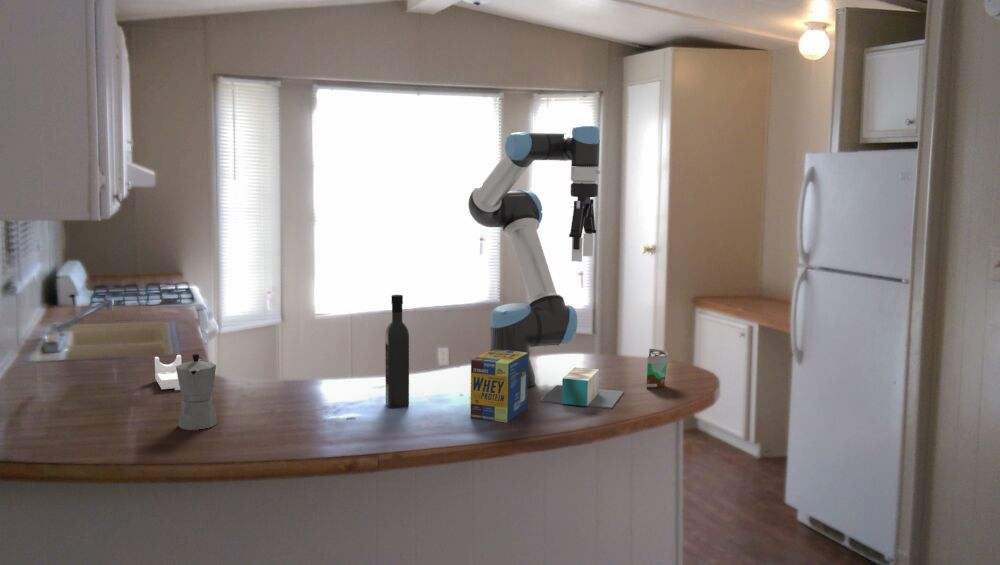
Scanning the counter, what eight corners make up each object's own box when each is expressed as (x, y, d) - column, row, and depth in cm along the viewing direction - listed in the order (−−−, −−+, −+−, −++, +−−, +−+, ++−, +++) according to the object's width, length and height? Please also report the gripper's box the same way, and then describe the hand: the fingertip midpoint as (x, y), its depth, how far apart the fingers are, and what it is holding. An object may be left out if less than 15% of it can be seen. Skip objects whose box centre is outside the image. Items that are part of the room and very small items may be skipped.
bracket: (155, 382, 271) (154, 357, 270) (180, 379, 274) (179, 354, 273) (161, 392, 259) (160, 366, 258) (188, 389, 263) (187, 363, 261)
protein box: (469, 418, 238) (470, 359, 236) (492, 403, 252) (492, 348, 250) (507, 423, 234) (508, 363, 232) (528, 408, 248) (529, 351, 246)
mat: (540, 401, 254) (540, 400, 254) (556, 386, 271) (556, 385, 271) (611, 408, 248) (611, 407, 248) (623, 392, 265) (623, 391, 265)
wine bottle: (388, 408, 245) (388, 297, 241) (384, 403, 250) (384, 294, 246) (409, 407, 247) (410, 296, 243) (405, 401, 252) (405, 293, 248)
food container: (667, 391, 267) (669, 358, 266) (646, 390, 268) (647, 356, 267) (668, 381, 279) (670, 349, 278) (648, 380, 280) (649, 348, 279)
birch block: (562, 378, 250) (574, 367, 264) (561, 403, 251) (574, 391, 264) (587, 380, 248) (598, 369, 261) (587, 406, 249) (598, 393, 262)
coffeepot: (215, 431, 223) (213, 359, 221) (174, 434, 221) (172, 360, 218) (220, 414, 238) (218, 345, 235) (181, 416, 236) (179, 347, 233)
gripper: (587, 184, 242) (585, 264, 245) (606, 181, 266) (604, 254, 269) (560, 183, 245) (558, 262, 248) (581, 181, 268) (579, 253, 271)
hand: (582, 258), depth 258 cm, fingers open, 13 cm apart
